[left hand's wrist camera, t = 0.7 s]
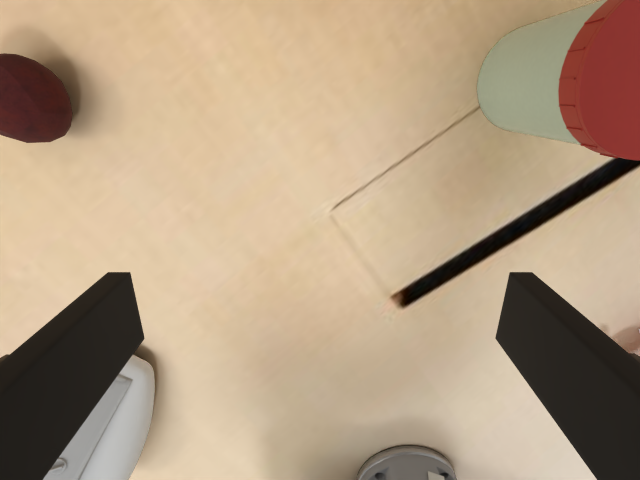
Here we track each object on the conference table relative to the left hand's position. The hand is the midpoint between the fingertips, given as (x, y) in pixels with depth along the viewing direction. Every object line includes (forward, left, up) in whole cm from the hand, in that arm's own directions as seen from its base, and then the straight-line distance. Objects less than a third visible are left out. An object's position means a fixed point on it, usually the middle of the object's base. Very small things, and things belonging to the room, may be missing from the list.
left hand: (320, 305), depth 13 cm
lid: (+8, -20, -12) cm, 25 cm away
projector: (-33, +31, -28) cm, 53 cm away
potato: (+6, +27, -28) cm, 39 cm away
